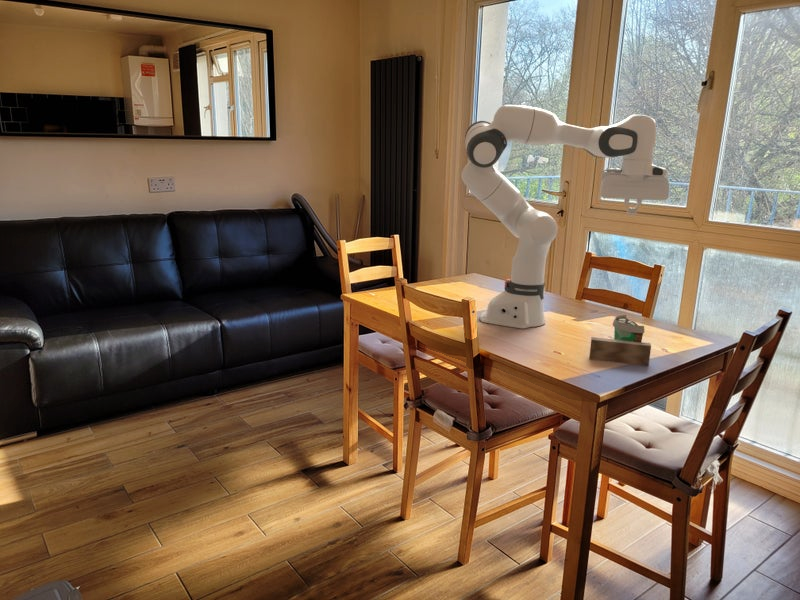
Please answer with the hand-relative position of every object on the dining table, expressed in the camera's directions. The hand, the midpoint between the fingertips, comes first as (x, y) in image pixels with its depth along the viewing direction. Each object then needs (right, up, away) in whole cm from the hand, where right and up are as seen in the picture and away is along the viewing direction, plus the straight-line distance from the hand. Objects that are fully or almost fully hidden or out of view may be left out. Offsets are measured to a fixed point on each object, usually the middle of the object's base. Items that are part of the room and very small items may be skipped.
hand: (631, 213), depth 191 cm
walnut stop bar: (-11, -45, -18) cm, 50 cm away
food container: (-7, -43, -10) cm, 45 cm away
